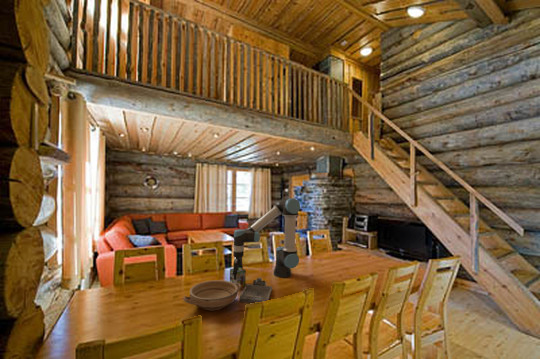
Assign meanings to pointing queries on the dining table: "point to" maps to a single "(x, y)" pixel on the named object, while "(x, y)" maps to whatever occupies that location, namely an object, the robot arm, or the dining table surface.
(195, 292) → the ceramic bowl
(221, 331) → the dining table surface
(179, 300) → the dining table surface
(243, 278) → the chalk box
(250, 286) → the motor base
